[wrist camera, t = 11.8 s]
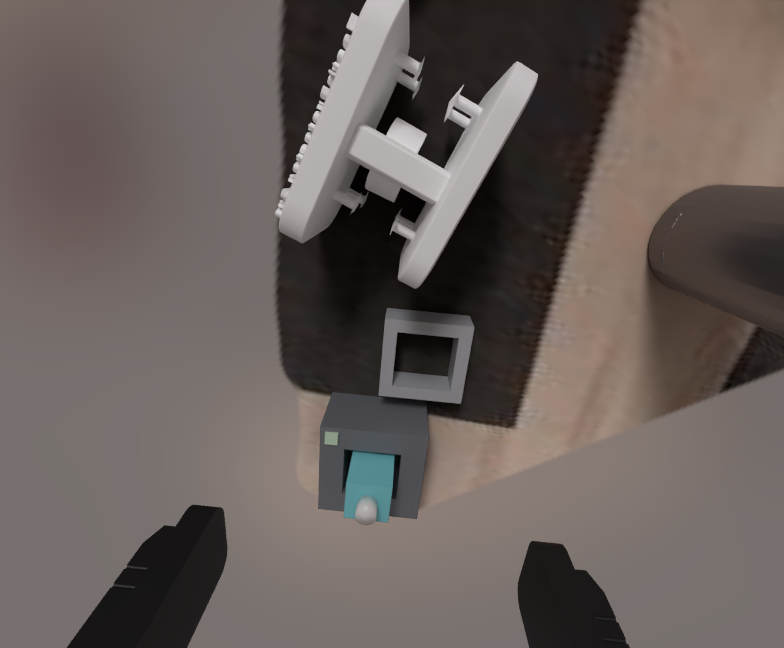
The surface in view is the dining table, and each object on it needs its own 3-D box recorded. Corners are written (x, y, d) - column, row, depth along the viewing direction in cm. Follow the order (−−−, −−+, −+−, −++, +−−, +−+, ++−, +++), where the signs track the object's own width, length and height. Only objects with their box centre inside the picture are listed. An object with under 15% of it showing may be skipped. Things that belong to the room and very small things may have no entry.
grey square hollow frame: (469, 315, 37) (474, 327, 35) (457, 387, 40) (460, 403, 37) (387, 307, 37) (385, 318, 35) (380, 380, 40) (378, 395, 38)
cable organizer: (411, 268, 36) (412, 308, 25) (308, 213, 35) (261, 231, 24) (502, 105, 31) (551, 68, 20) (384, 34, 30) (370, -48, 19)
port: (426, 401, 41) (429, 439, 35) (416, 475, 45) (416, 521, 39) (332, 392, 41) (319, 428, 35) (329, 466, 45) (317, 511, 39)
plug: (395, 430, 41) (391, 501, 32) (392, 461, 42) (386, 537, 33) (358, 426, 41) (343, 496, 32) (355, 456, 42) (340, 531, 33)
